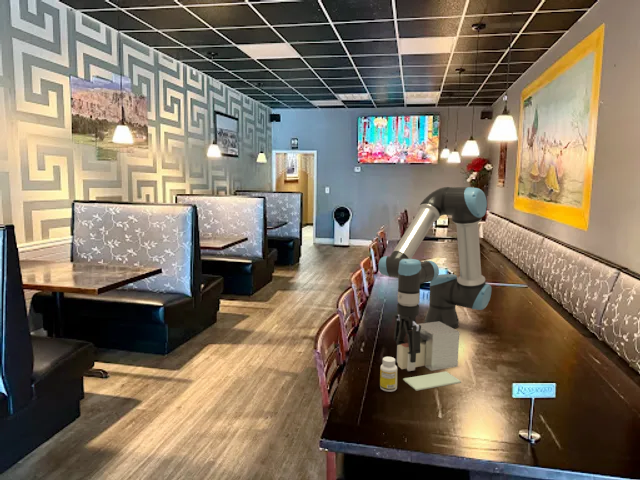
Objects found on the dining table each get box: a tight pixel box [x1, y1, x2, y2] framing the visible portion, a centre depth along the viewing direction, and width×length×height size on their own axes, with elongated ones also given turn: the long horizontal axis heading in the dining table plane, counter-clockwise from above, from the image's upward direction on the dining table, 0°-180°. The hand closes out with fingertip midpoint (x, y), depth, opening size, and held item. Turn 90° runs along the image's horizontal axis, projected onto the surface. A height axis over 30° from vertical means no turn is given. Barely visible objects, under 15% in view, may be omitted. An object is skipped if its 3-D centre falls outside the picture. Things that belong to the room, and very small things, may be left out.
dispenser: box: [416, 321, 460, 372], centre depth 161 cm, size 12×12×13 cm
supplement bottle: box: [379, 356, 398, 393], centre depth 141 cm, size 5×5×10 cm
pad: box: [402, 370, 462, 391], centre depth 147 cm, size 17×8×1 cm, turn 110°
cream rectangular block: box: [397, 341, 426, 370], centre depth 159 cm, size 13×3×8 cm, turn 110°
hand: (405, 366), depth 158 cm, fingers open, 7 cm apart
